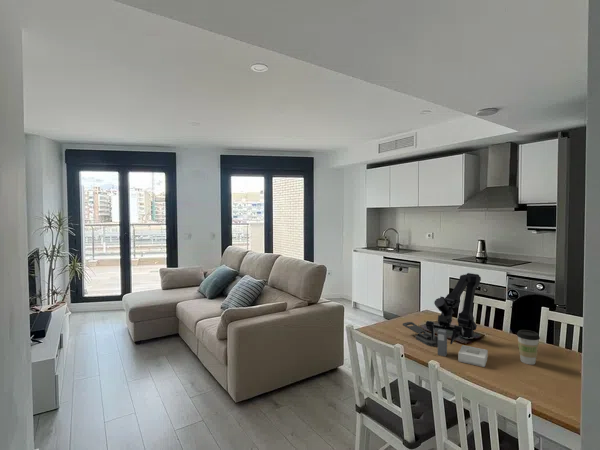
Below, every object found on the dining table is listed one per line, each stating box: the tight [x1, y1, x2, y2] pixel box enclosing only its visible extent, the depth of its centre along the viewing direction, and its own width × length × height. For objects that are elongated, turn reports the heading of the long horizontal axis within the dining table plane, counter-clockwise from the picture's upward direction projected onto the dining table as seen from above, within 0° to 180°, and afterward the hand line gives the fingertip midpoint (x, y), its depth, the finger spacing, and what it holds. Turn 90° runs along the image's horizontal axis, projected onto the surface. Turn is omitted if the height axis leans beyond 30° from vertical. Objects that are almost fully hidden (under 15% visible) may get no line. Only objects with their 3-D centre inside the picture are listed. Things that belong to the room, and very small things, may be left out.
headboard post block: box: [457, 344, 489, 368], centre depth 176 cm, size 12×12×4 cm
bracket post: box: [436, 329, 448, 357], centre depth 183 cm, size 5×4×13 cm
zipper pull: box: [401, 321, 438, 347], centre depth 206 cm, size 9×7×25 cm
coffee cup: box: [516, 329, 541, 365], centre depth 172 cm, size 10×10×15 cm
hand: (441, 342), depth 183 cm, fingers open, 9 cm apart
